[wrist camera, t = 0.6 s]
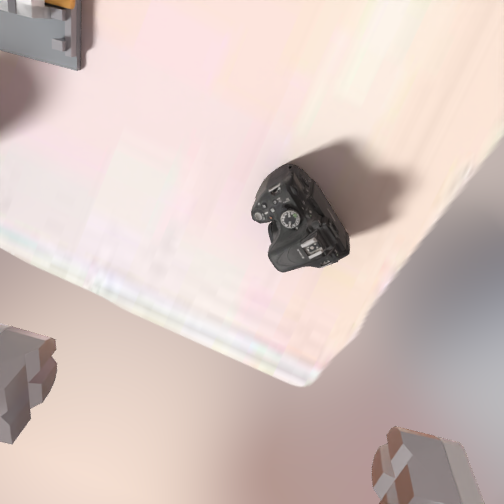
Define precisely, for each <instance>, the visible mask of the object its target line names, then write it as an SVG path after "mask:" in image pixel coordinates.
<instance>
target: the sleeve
mask: <svg viewBox="0 0 504 504" xmlns="http://www.w3.org/2000/svg"><path fill="white" fill-rule="evenodd" d="M0 10H3V11H7V12H10V13H14V14H19V15H22V16H26V17H30V18H43V19H54V18H51V6H48V5H45V0H0Z"/></svg>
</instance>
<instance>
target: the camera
mask: <svg viewBox="0 0 504 504" xmlns="http://www.w3.org/2000/svg"><path fill="white" fill-rule="evenodd" d="M255 198H256V200H255V202H254V205H253V207H252V211H251V215H252V219H253V220H254V221H256V222H258V223H266V222H270V221H272V222H271V223H270V224H269V226H268V233H269V237H270V240H271V243H272V244H271V245H270V247H269V251H268V257H269V259H270V261H271V262H272V264H273V265H274V267H275V268H276V269H277V270H278V271H280V272H287V271H291V270H294V269H297V268H301V267H306V266H311V267H317V268H323V267H325V266H328V265H330V264H333V263H336V262H338V260H340V259H342V258H344V257H346V256H347V255H348V254H349V252H350V244H349V235H348V233H347V232H346V231H345V228H344V227H343V225H342V224H341V222H340V220H339V219H338V217H337V215H336V214H335V212H334V211H333V209H332V207H331V206H330V204H329V202H328V201H327V199H326V198H325V196H324V194H323V193H322V191H321V190H320V188H319V186H318V185H317V184H316V183H315V181H314V180H312V179H310V177H309V176H308V175H307V174H306V173H305V172H304V171H303V170H302V169H300V168H298V167H297V166H296V165H293V164H286V165H283V166H281V167H279V168H278V169H276V170H274V171H273V172H272V173H271V174H269V175H268V176H267V177H266V179H265V180H264V181H263V183H262V184H261V186H260V188H259V190H258V192H257V194H256V197H255Z"/></svg>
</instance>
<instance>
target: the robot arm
mask: <svg viewBox="0 0 504 504" xmlns="http://www.w3.org/2000/svg"><path fill="white" fill-rule="evenodd" d="M55 351H56V341H55V339H53V338H51V337H48V336H44V335H41V334H37V333H34V332H30V331H27V330H23V329H20V328H16V327H13V326H9V325H5V324H1V323H0V442H4V443H8V444H13V443H14V441H15V440H16V438H17V437H18V436H19V434H20V433H21V432H22V430H23V429H24V427H25V426H26V425H27V423H28V422H29V421H30V419H31V414H30V409H31V408H33V407H35V406H36V405H38V404H40V403H42V402H43V401H44V400H45V398H46V397H47V395H48V394H49V392H50V390H51V388H52V386H53V384H54V381H55V378H56V373H57V363H56V361H55V360H54V359H53V358H52V354H53V353H54V352H55ZM386 436H387V441H388V443H387V444H385V445H382V446H380V447H379V448H378V450H377V452H376V454H375V456H374V459H373V464H372V485H373V489H374V491H375V492H376V494H377V495H378V496H379V498H380V500H381V501H380V502H379V504H485V503H484V501H483V498H482V495H481V493H480V490H479V487H478V484H477V482H476V479H475V476H474V474H473V471H472V468H471V465H470V463H469V460H468V457H467V455H466V452H465V449H464V447H463V446H462V445H461V443H459V442H456V441H452V440H448V439H444V438H441V437H436V436H434V435H430V434H425V433H422V432H418V431H413V430H409V429H405V428H401V427H397V426H394V427H393V428H391V429H390V430H389V432H388V434H387V435H386Z"/></svg>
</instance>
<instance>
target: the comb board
mask: <svg viewBox="0 0 504 504" xmlns="http://www.w3.org/2000/svg"><path fill="white" fill-rule="evenodd" d="M45 5H48V6H51V18H54V19H43V18H30V17H26V16H22V15H19V14H14V13H10V12H7V11H3V10H0V50H1V51H5V52H9V53H12V54H16V55H20V56H24V57H27V58H31V59H35V60H39V61H42V62H46V63H50V64H54V65H57V66H61V67H65V68H69V69H72V70H76V71H78V70H80V52H81V0H45Z"/></svg>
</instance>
